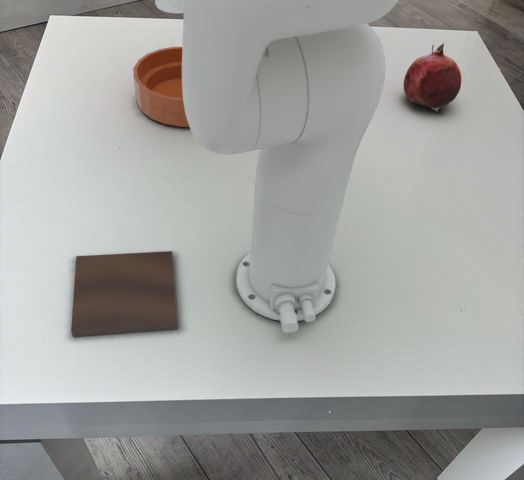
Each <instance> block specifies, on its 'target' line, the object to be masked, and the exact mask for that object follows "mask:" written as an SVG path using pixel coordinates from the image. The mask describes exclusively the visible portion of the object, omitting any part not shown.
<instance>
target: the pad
mask: <svg viewBox="0 0 524 480" xmlns="http://www.w3.org/2000/svg"><path fill="white" fill-rule="evenodd" d="M74 267H75V269H74V282H73V297H72V313H71V326H70V327H71V328H70V334H71V336H72V338H75V337H87V336H88V337H90V336H103V335H117V334H129V333H130V334H131V333H145V332H156V331H171V330H173V331H174V330H178V313H177V299H176V286H175V283H176V282H175V270H174V256H173V250H165V251H163V250H162V251H151V252H150V251H147V252H129V253H109V254H90V255H76V256H75V266H74Z"/></svg>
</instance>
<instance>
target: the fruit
mask: <svg viewBox="0 0 524 480" xmlns="http://www.w3.org/2000/svg"><path fill="white" fill-rule="evenodd" d="M434 46H435V44H432V46H431V53H429V54H426V55H423V56H420V57H417V58H416V59H415V60H414V61H413V62H412V63H410V65H409V67H408V69H407V71H406V73H405V75H404V78H403V92H404V94H405V96H406V98H407V99H408V101H409V102H411V103H413V104H416V105H419V106H422V107H425V108H428V109H430V110H432V111H435V112H437V113H440V109H441V108H442V107H444V106H447V105H449V104H450V103H451V102H453V101H454V100H455V99H456V98H457V96H458V94H459V93H460V90H461V87H462V73H461V70H460V68H459V65H458V64H457V61H455V60H454V59H453V58H452V57H449V56H447V55H445V54H444V48H445V47H444V46H445V42H443V43H442V44H439V46H438V47H437V48H436V49H435V50H434Z"/></svg>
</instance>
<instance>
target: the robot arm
mask: <svg viewBox="0 0 524 480" xmlns="http://www.w3.org/2000/svg"><path fill="white" fill-rule="evenodd" d="M398 2H399V0H184V13H183V17H182V18H183V19H182V21H183V22H182V46H181V47H182V95H183V102H184V109H185V114H186V118H187V121H188V124H189V129H190V132H191V133H192V135H193V137H194V138H195V140H196V141H197V142H198V143H199V144H200V146H202V147H203V148H204V149H206V150H207V151H209V152H211V153H214V154H216V155H217V154H218V155H225V156H226V155H228V156H230V155H236V154H244V153H249V152H254V151H257V150H260V152H259V154H258V158H257V163H256V170H255V180H254V191H253V192H254V193H253V194H254V195H253V207H252V208H253V209H252V222H251V239H250V251H249V252H248V253H247V254H246V255H245V256H244V257H243V258H242V260H241V261H240V262H239V265H238V268H237V270H236V289H237V293H238V294H239V296H240V298H241V300H242V301H243V302H244V303H245V304H246V306H247V307H249V308H250V309H251V310H252V311H254V312H255V313H257V314H259V315H261V316H263V317H264V318H267V319H270V320H275V321H279V322H280V326H281V330H282V332H283V333H285V334H293V333H296V332H297V331H298V330H299V328H300V327H299V322H300V321H304V322H305V323H313V322H314V321H315V320H316V319H317V317H316V316H317V315H320V314H321V313H322V312H323V311H325V310H326V308H328V306H329V305H330V303H331V302H332V300H333V298H334V295H335V291H336V286H337V285H336V283H337V282H336V281H337V280H336V275H335V273H334V270H333V267H331V265H330V264H329V263H330V259H331V255H332V251H333V246H334V243H335V238H336V233H337V230H338V225H339V221H340V217H341V213H342V212H341V211H342V208H343V204H344V200H345V196H346V193H347V189H348V185H349V180H350V176H351V173H352V169H353V165H354V162H355V158H356V155H357V153H358V150H359V147H360V145H361V143H362V140H363V137H364V136H365V133H366V131H367V130H368V127H369V125H370V123H371V121H372V119H373V117H374V115H375V114H376V110H377V108H378V105H379V102H380V100H381V96H382V93H383V91H384V85H385V78H386V57H385V51H384V48H383V44H382V43H381V39H380V38H379V36H378V34H377V32H376V31H375V30H374V28H372V27H371V25H370V23H372V22H375V21H377V20H379V19H381V18H383V17H385V16H386V15H387V14H389V12H391V11H392V10H393V9H394V8H395V6H397V3H398ZM298 321H299V322H298Z"/></svg>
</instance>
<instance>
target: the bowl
mask: <svg viewBox="0 0 524 480" xmlns="http://www.w3.org/2000/svg"><path fill="white" fill-rule="evenodd" d="M132 72H133V76H132V77H133V84H134V91H135V99H136V104H137V106H138V108H139V109H140V111H141V112H142V113H143V114H145V115H146V116H147V117H148V118H150V119H151V120H153V121H156V122H159V123H162V124H164V125H169V126H176V127H181V128H182V127H183V128H187V127H189V124H188V121H187V118H186V114H185V109H184V102H183V95H182V46H170V47H163V48H159V49H157V50H154V51H152V52H148V53H146V54H145V55H144V56H142V57H140V58H139V59H138V60H137V62H136V64H135V65H134V66H133V71H132ZM189 128H190V127H189Z"/></svg>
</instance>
